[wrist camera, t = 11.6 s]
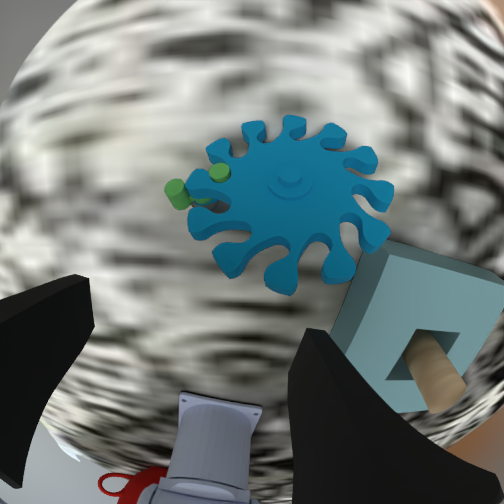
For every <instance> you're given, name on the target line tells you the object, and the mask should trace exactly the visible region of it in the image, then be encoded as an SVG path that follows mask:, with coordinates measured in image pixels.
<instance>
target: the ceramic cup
mask: <svg viewBox="0 0 504 504" xmlns="http://www.w3.org/2000/svg"><path fill="white" fill-rule="evenodd" d="M167 472H168V469H166V468H161V467H149V468H148V469H145V470H143V471H141V472H139V473H137V474H136V475H134V476H133V475H128V474H122V473H108V474H105V475H103V476H101V477H100V478H99V480H98V487H99V489H100V490H101V491H102V492H103V493H104V494H106V495H109V496H114V497H119V500H118V503H117V504H137V502H138V499H139V497H140V495H141V493H142V491H143V490H144V489H145V488H147V487H149V486H150V485H151V484H158V485H159V482H160V478H161V477H164V478H166V476H167ZM108 477H123V478H127V479H130V480H129V482H128V483H127V484H126V486H125V487H124V488H123V489H122V490H121V491H119V492H115V493H112V492H108V491H106V490H105V489H104V488H103V486H102V482H103V480H104V479H106V478H108Z"/></svg>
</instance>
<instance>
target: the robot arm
mask: <svg viewBox="0 0 504 504" xmlns="http://www.w3.org/2000/svg"><path fill="white" fill-rule="evenodd" d="M94 327H95V325H94V318H93V310H92V302H91V293H90V283H89V278H87V277H83V276H80V275H77V274H74V275H69V276H66V277H63V278H59V279H56V280H54V281H51V282H48V283H45V284H43V285H40V286H37V287H34V288H32V289H29V290H27V291H24V292H21V293H18V294H15V295H12V296H9V297H7V298H4V299H1V300H0V479H2V480H3V481H4V482H6V483H7V484H8V485H10V486H11V487H13V488H15V489H18V488H22V482H23V475H24V470H25V464H26V459H27V455H28V451H29V448H30V444H31V441H32V438H33V435H34V432H35V430H36V427H37V424H38V422H39V419H40V417H41V415H42V413H43V410H44V408H45V406H46V404H47V402H48V400H49V398H50V397H51V395H52V393H53V392H54V390H55V389H56V387H57V386H58V384H59V383H60V381H61V380H62V378H63V377H64V375H65V374H66V372H67V371H68V370H69V368H70V367H71V365H72V364H73V362H74V361H75V360H76V358H77V357H78V355H79V354H80V352H81V351H82V349H83V348H84V346H85V344H86V342H87V341H88V339H89V337H90V335H91V333H92V331H93V329H94ZM288 410H289V420H290V430H291V440H292V450H293V465H294V473H293V495H292V504H499V503H501V502H502V501H503V499H504V493H503V491H502V488H501V485H500V483H499V480H498V478H497V476H496V474H495V473H492V472H489V471H487V470H484V469H482V468H479V467H477V466H475V465H472V464H470V463H467V462H466V461H464V460H462V459H460V458H458V457H456V456H455V455H453V454H451V453H449V452H447V451H446V450H444V449H443V448H441V447H440V446H438V445H436V444H435V443H434V442H432V441H431V440H429V439H428V438H427V437H425V436H424V435H423V434H421V433H420V432H418V431H417V430H416V429H415V428H413V427H412V426H411V425H410V424H409V423H407V422H406V421H405V420H404V419H403V418H402V417H401V416H400V415H399V414H397V413H396V412H395V411H394V410H393V409H392V408H391V407H390V406H389V405H388V404H387V403H386V402H385V401H384V400H383V399H382V398H381V397H380V396H379V395H378V394H377V392H376V391H375V390H374V389H373V388H372V387H371V386H370V385H369V384H368V383H367V381H366V380H365V379H364V378H363V377H362V376H361V374H360V373H359V372H358V371H357V370H356V368H355V367H354V366H353V365H352V363H351V362H350V361H349V360H348V358H347V357H346V356H345V355H344V353H343V352H342V351H341V350H340V348H339V347H338V346H337V344H336V343H335V342H334V341H333V339H332V338H331V337H330V336H329V335H328V333H327V332H326V331H325V330H318V329H311V328H306V331H305V333H304V336H303V338H302V341H301V343H300V346H299V348H298V351H297V353H296V356H295V358H294V360H293V363H292V365H291V368H290V370H289V372H288ZM261 414H262V408H261V407H260V406H254V405H247V404H241V403H234V402H229V401H223V400H218V399H213V398H208V397H203V396H199V395H194V394H190V393H186V392H182V393H180V396H179V430H178V434H177V438H176V442H175V445H174V449H173V453H172V457H171V461H170V464H169V468H168V472H167V476H166V478H164V477H161V478H160V482H159V485H158V484H151V485H150V486H149V487H147V488H145V489H144V490H143V491H142V493H141V495H140V497H139V499H138V502H137V504H260V503H259V502H258V500H256V499H250V491H247V490H248V474H249V458H250V442H251V436H252V434H253V431H254V429H255V427H256V425H257V423H258V420H259V418H260V416H261ZM0 504H7V503H6V502H4V501H3V500H2V499H1V498H0Z"/></svg>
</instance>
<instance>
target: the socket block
mask: <svg viewBox="0 0 504 504" xmlns="http://www.w3.org/2000/svg"><path fill="white" fill-rule="evenodd" d="M503 308H504V281H503V280H502V279H500V278H499V277H498V276H496V275H495V274H494V273H492V272H491V271H489V270H486V269H483V268H480V267H477V266H474V265H471V264H468V263H465V262H462V261H459V260H456V259H452V258H449V257H446V256H443V255H439V254H436V253H433V252H430V251H426V250H423V249H419V248H416V247H412V246H409V245H405V244H402V243H398V242H395V241H391V240H387V239H386V241H385V242H384V243H383V245H382V246H381V247H380V248H379V249H378V250H377V251H375V252H374V253H371V254H368V253H366V252H365V251H364V250H363V253H362V256H361V258H360V261H359V264H358V267H357V270H356V272H355V275H354V278H353V280H352V283H351V286H350V288H349V291H348V293H347V296H346V298H345V301H344V303H343V306H342V308H341V310H340V313H339V315H338V318H337V320H336V322H335V325H334V327H333V329H332V331H331V334H330V337H331V338H332V339H333V341H334V342H335V343H336V344H337V346H338V347H339V348H340V350H341V351H342V352H343V353H344V355H345V356H346V357H347V358H348V360H349V361H350V362H351V363H352V365H353V366H354V367H355V368H356V370H357V371H358V372H359V373H360V374H361V376H362V377H363V378H364V379H365V380H366V381H367V383H368V384H369V385H370V386H371V387H372V388H373V389H374V390H375V391H376V392H377V394H378V395H379V396H380V397H381V398H382V399H383V400H384V401H385V402H386V403H387V404H388V405H389V406H390V407H391V408H392V409H393V410H394V411H395V412H396V413H402V412H413V411H422V410H429V409H428V407H427V405H426V403H425V401H424V399H423V397H422V395H421V393H420V391H419V389H418V387H417V385H416V383H415V381H414V379H413V377H412V375H411V373H410V371H409V369H408V367H407V365H406V363H405V361H404V359H403V357H402V355H401V354H402V353H403V351H404V349H405V348H406V346H407V344H408V342H409V341H410V339H411V337H412V335H413V334H414V332H415V330H416V329H425V330H429V331H430V332H431V334H432V335H433V336H434V338H435V339H436V341H437V342H438V344H439V345H440V346H441V348H442V349H443V351H444V352H445V354H446V355H447V357H448V358H449V360H450V361H451V363H452V364H453V366H454V367H455V369H456V370H457V372H458V373H459V375H460V376H462V375H463V374H464V372H465V371H466V369H467V368H468V367H469V365H470V364H471V362H472V361H473V359H474V358H475V356H476V355H477V353H478V352H479V350H480V349H481V347H482V345H483V344H484V342H485V340H486V339H487V337H488V335H489V334H490V332H491V330H492V329H493V327H494V325H495V323H496V321H497V319H498V318H499V316H500V314H501V312H502V310H503Z"/></svg>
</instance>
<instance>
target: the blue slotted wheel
mask: <svg viewBox="0 0 504 504" xmlns="http://www.w3.org/2000/svg"><path fill="white" fill-rule="evenodd" d="M241 128H242V133H243V138H244V140H245V142H247V143H248V145H249V150H248V153H247V154H246V155H245V156H243V157H241V158H233V157H232V156H233V153H232V149H231V145H230V142H229V140H227V139H225V138H222V139H219V140H217V141H215V142H213V143H212V144H210V145H209V146H207V147H206V151H207V154H208V157H209V160H210V162H211V163H212V164H214V165H213V166H212V167H211V168H210V169H209V173H208V172H207V171H206V170H204V169H196V170H195V171H193V172H192V174H191V175H190V176H189V178H188V180H187V182H186V184H184V182H183V181H182V180H181V179H173V180H171V181H169V182H168V183H167V184H166V186H165V189H164V191H165V193H166V195H167V197H168V198H169V200H170V201H171V203H172V205H173V206H174V208H175V209H177V210H183V209H186V208H187V207H188V206H189V205H190V204H191V205H192V207H193V208H192V209H190V210H189V213H188V230H189V232H190V234H191V235H192V237H193V238H194V239H195V240H198V241H202V240H206V239H208V238H209V237H211V236H212V235H214V234H216V233H218V232H221V231H225V230H247V231H249V232H251V233H252V235H251V237H250V238H249V239H248V240H247V241H245V242H242V243H232V242H225V243H221V244H219V245H218V246H216V247H215V248H214V250H213V251H212V254H213V257H214V259H215V261H216V262H217V264H218V265H219V267H220V269H221V270H222V271H223V272H224V274H225V275H226V276H227V277H228V278H229V279H233V278H236V277H238V276H239V275H240V274H241V273H242V272H243V270H244V268H245V266H246V265H247V263H248V262H249V261H250V259H251V258H252V257H253V256H254V255H256V254H257V253H259V252H260V251H262V250H264V249H266V248H269V247H271V246H273V245H283V246H285V247H286V248H287V249H288V250H289V254H288V255H287V256H286V257H285V258H283V259H280V260H278V261H276V262H274V263H272V264H270V265H269V266H268V267H267V269H266V271H265V273H264V281H265V285H266V286H267V287H268V288H269V289H271V290H273V291H274V292H277V293H280V294H284V295H288V296H291V295H292V294H293V293H294V292H295V290H296V288H297V284H298V271H297V265H298V262H299V259H300V257H301V255H302V254H303V252H304V251H305V249H306V248H307V247H308V245H309V244H311V243H312V242H315V241H320V242H323V243H325V244H326V245H327V246H328V248H329V250H330V253H329V254H328V256H327V257H326V259H325V261H324V264H323V267H322V270H321V277H322V280H323V281H324V283H325V284H339V283H343V282H347V281H350V280H351V279H352V277H353V276H354V274H355V271H356V265H355V262H354V260H353V258H352V257H351V256H350V255H349V254H348V252H347V251H346V249H345V248H344V246H343V243H342V241H341V237H340V230H339V224H340V223H342V222H350V223H352V224H354V225H355V226H356V227H357V229H358V234H359V244H360V247H361V248H362V249H363V250H364V251H365V252H366V253H368V254H371V253H374V252H375V251H377V250H378V249H379V248H380V247H381V246H382V245H383V243H384V242H385V241H386V239H387V238H388V236H389V235H390V233H391V231H390V229H389V227H388V226H387V225H386V224H385V223H384V222H382V221H380V220H378V219H375V218H373V217H372V216H370V215H369V214H367V213H366V212H365V211H364V210H363V209H362V208H361V207H360V206H359V205H358V203H357V202H356V201H355V199H354V198H353V196H352V195H354V194H359V195H362V196H363V197H365V198H366V200H367V201H368V202H369V204H370V205H371V207H372V208H373V209H375V210H376V211H378V212H386V211H387V209H388V207H389V205H390V203H391V201H392V199H393V196H394V186H393V185H392V184H391V183H389V182H387V181H383V180H379V181H375V180H368V179H364V178H361V177H359V176H357V175H355V174H353V173H351V172H349V171H348V170H346V169H345V168H353V169H355V170H357V171H359V172H360V173H363V174H367V175H370V174H373V173H375V170H376V167H377V164H378V159H377V156H376V154H375V152H374V151H373V149H372V148H371V147H369V146H361V147H359V148H357V149H355V150H353V151H348V152H336V151H328V150H325V149H323V148H332V149H339V148H342V147H343V146H344V145H345V142H346V137H347V133H346V131H345V130H343V129H342V128H341V127H339V126H338V125H336V124H334V123H329V124H326V125H325V126H324V128H323V130H322V131H321V132H320V133H319V134H318V135H316V136H314V137H312V138H309V139H306V140H302V141H297V140H294V139H297V138H300V137H303V136H304V135H305V133H306V119H305V118H302V117H299V116H294V115H286V116H285V117H284V118H283V131H282V133H281V134H280V135H279V136H278V137H277V138H276V139H275V140H274V141H273V142H270V143H262V142H263V141H264V140H265V138H266V129H265V123H264V122H263V121H250V122H246V123H243V124H242V126H241Z"/></svg>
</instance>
